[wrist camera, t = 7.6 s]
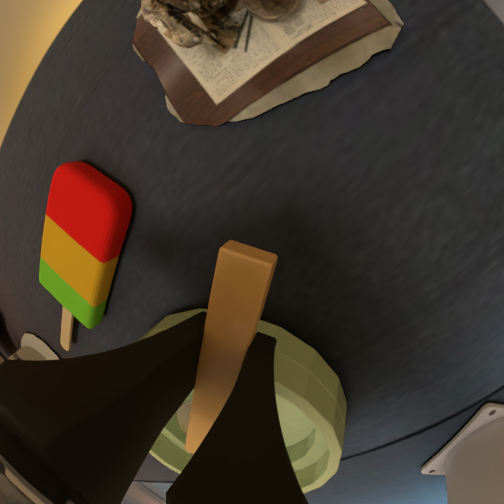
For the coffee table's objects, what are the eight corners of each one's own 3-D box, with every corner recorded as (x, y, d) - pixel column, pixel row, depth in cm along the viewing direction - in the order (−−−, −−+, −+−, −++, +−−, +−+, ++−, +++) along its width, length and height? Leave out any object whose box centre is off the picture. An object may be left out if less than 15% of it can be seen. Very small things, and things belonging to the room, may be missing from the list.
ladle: (257, 443, 18) (232, 507, 13) (186, 415, 18) (149, 473, 14) (345, 232, 12) (348, 290, 7) (225, 195, 13) (153, 226, 8)
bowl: (387, 352, 14) (392, 410, 10) (301, 471, 19) (290, 512, 15) (147, 268, 16) (99, 301, 12) (145, 410, 21) (119, 443, 17)
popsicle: (142, 196, 15) (118, 204, 13) (96, 363, 21) (81, 376, 19) (77, 152, 15) (53, 156, 13) (51, 321, 21) (36, 331, 20)
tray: (84, 101, 12) (110, -93, 4) (171, 75, 17) (206, -76, 9) (290, 215, 10) (417, -96, 2) (345, 155, 14) (428, -33, 6)
